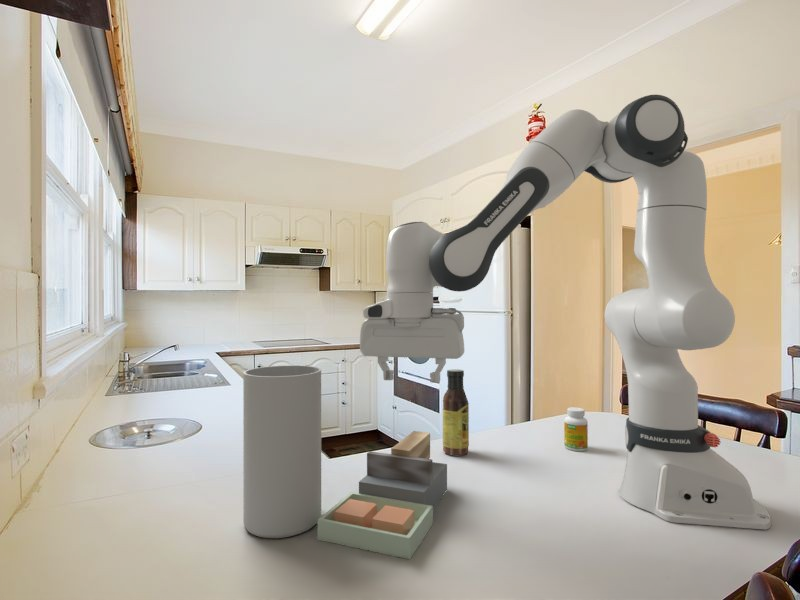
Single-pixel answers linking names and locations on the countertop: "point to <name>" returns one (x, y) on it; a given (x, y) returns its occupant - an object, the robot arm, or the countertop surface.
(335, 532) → the tray
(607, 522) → the countertop surface
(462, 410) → the sauce bottle
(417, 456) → the grey and tan blocks
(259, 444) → the cylinder vase
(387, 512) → the peach block
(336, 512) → the orange block
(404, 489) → the board
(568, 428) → the supplement bottle
